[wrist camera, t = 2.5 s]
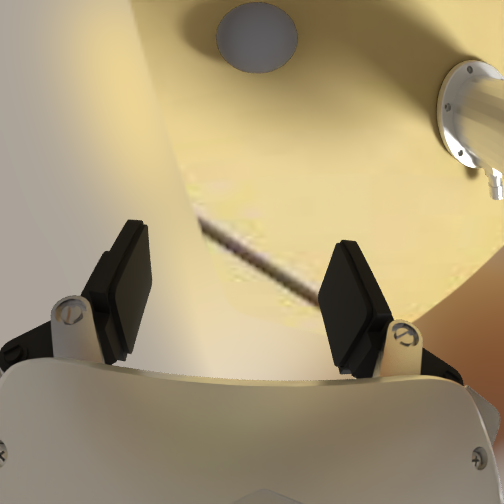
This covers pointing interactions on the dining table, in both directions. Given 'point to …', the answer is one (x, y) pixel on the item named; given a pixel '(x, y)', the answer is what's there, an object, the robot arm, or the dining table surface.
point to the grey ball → (256, 37)
